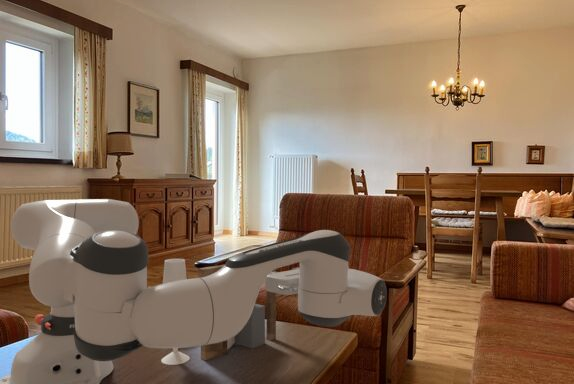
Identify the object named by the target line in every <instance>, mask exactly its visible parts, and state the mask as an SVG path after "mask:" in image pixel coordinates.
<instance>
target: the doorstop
mask: <svg viewBox="0 0 574 384" xmlns="http://www.w3.org/2000/svg"><path fill="white" fill-rule="evenodd" d="M265 343H266V305H263V304H259V303H255V305H254V308H253V311H252V314H251V316H250V318H249V320H248V322H247V323H246V325H245V326H244V327H243V329H242V330H241V331H240V332H239V333H238V334H237V335H236V336H235V342H234V344H236V345H238V346H239V345H240V346H242V347H246V348H249V349H254V348H255V349H256V348H257V347H259V346H262V345H264V344H265Z"/></svg>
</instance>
